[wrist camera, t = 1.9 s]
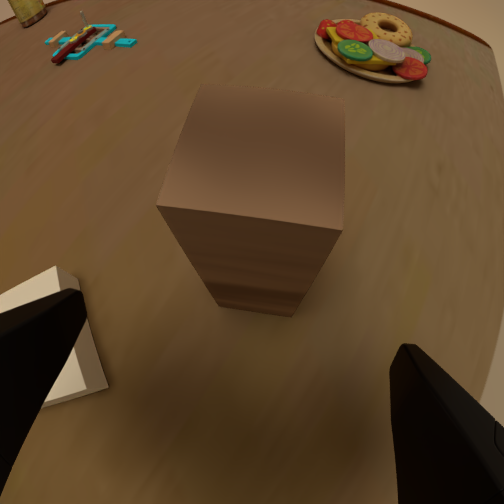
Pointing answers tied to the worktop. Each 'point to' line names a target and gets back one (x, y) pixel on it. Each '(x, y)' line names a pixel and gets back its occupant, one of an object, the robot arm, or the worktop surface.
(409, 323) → the worktop surface
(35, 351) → the robot arm
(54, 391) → the cream plinth
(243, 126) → the walnut column
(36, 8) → the sauce bottle
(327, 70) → the worktop surface
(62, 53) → the multicoloured piece
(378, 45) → the toy food set
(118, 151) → the worktop surface
